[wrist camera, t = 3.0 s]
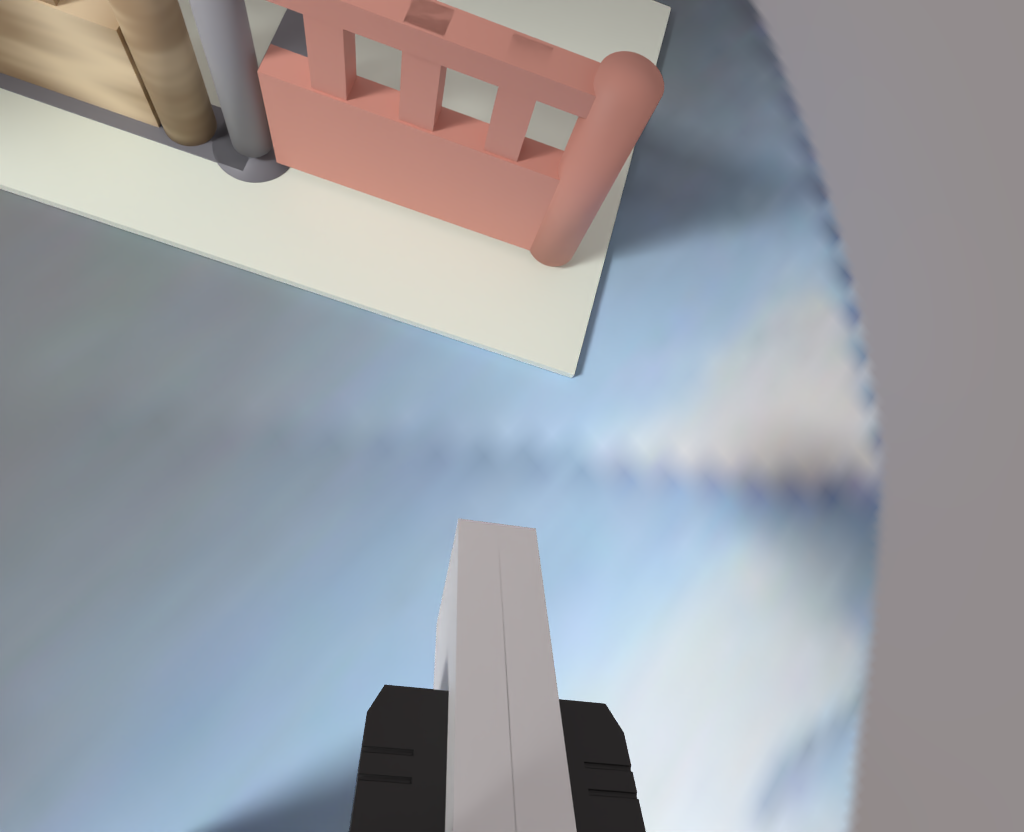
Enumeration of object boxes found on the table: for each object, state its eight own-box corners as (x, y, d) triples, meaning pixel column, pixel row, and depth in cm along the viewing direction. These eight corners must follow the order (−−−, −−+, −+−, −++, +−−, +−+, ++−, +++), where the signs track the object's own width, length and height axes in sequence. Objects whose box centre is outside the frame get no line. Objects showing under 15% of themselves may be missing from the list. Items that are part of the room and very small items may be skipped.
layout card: (-255, 104, 26) (-266, 95, 25) (9, -244, 32) (4, -256, 32) (571, 378, 29) (574, 374, 29) (667, 13, 35) (671, 6, 35)
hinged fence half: (222, 153, 28) (149, -70, 19) (242, 113, 28) (180, -122, 19) (568, 273, 29) (656, 119, 20) (580, 232, 30) (670, 65, 21)
